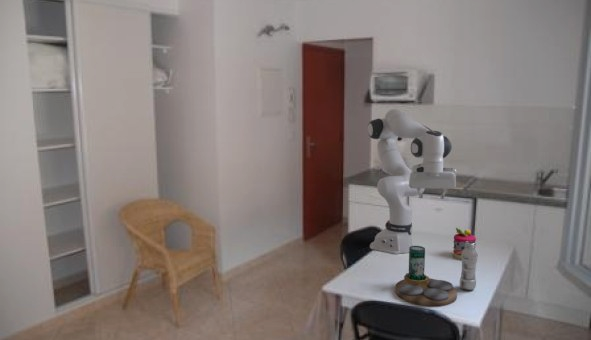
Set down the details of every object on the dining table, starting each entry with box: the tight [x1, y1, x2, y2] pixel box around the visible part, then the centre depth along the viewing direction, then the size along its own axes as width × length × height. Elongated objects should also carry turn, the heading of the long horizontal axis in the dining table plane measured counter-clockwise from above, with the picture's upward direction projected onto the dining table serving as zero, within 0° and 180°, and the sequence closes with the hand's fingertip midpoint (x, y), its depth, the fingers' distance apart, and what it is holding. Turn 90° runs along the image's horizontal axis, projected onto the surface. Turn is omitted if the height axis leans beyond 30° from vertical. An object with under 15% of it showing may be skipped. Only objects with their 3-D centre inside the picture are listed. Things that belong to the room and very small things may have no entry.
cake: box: [452, 227, 477, 261], centre depth 233 cm, size 10×10×15 cm
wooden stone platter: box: [395, 272, 458, 307], centre depth 192 cm, size 24×24×4 cm
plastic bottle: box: [459, 241, 479, 291], centre depth 195 cm, size 6×7×20 cm
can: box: [408, 245, 426, 281], centre depth 197 cm, size 6×6×15 cm
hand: (431, 198), depth 211 cm, fingers open, 8 cm apart
